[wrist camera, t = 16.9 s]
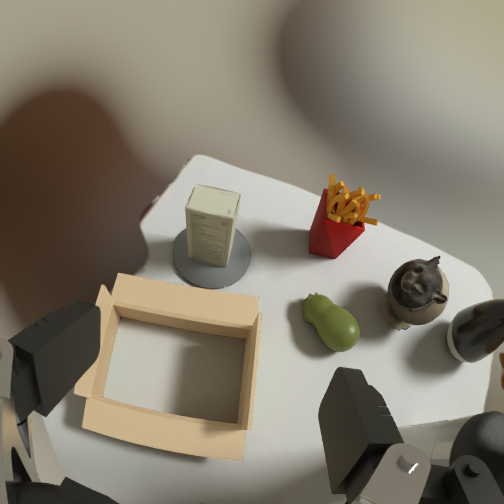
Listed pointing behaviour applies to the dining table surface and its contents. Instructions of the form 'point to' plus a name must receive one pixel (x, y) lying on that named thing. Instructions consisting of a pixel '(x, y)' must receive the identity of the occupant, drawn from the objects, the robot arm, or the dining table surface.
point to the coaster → (210, 273)
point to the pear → (331, 322)
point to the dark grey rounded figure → (477, 331)
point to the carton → (183, 317)
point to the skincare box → (211, 224)
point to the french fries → (339, 219)
